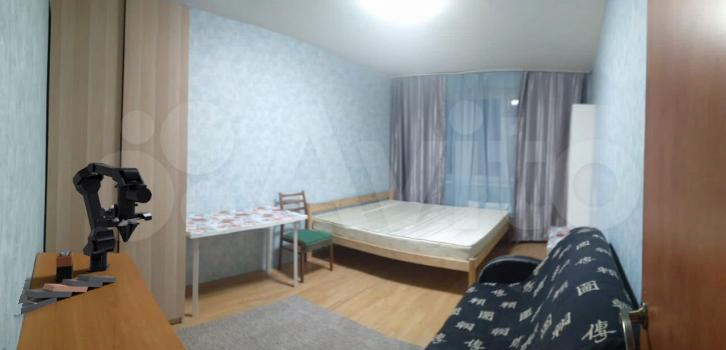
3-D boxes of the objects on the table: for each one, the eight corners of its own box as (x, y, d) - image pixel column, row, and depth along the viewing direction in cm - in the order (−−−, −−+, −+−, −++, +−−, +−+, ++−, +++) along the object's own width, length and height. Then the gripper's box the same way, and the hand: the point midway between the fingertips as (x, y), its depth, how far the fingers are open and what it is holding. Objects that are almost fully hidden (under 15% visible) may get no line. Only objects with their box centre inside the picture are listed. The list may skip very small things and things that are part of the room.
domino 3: (78, 284, 119) (44, 283, 110) (88, 286, 117) (54, 285, 108) (76, 289, 118) (42, 288, 109) (86, 292, 117) (52, 291, 108)
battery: (55, 283, 123) (56, 255, 123) (57, 277, 128) (58, 250, 128) (72, 281, 126) (72, 253, 125) (73, 275, 131) (73, 249, 131)
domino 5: (105, 275, 128) (78, 274, 119) (116, 277, 127) (89, 276, 118) (104, 280, 128) (77, 279, 119) (114, 282, 127) (88, 281, 117)
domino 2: (45, 295, 109) (4, 307, 100) (56, 297, 108) (16, 310, 98) (45, 300, 109) (4, 312, 100) (56, 302, 108) (16, 315, 98)
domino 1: (62, 289, 114) (25, 289, 105) (72, 291, 113) (36, 292, 104) (60, 294, 114) (23, 295, 105) (70, 297, 112) (33, 297, 103)
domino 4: (92, 280, 124) (63, 278, 114) (103, 282, 122) (74, 281, 113) (90, 285, 123) (61, 284, 114) (101, 287, 122) (72, 286, 113)
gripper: (130, 197, 143) (129, 235, 144) (84, 201, 125) (83, 245, 126) (153, 199, 140) (152, 237, 141) (109, 204, 122) (108, 248, 123)
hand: (125, 242), depth 133 cm, fingers closed
